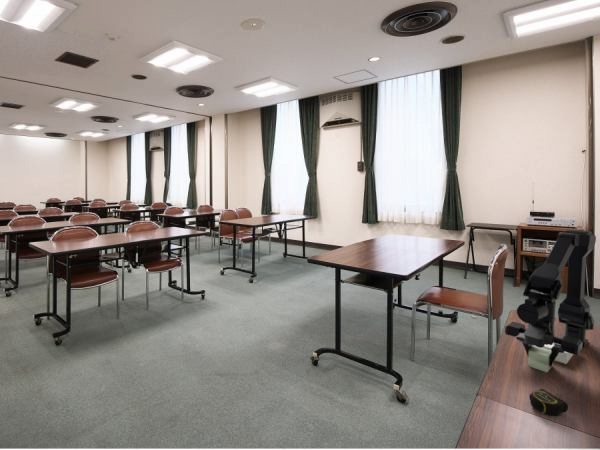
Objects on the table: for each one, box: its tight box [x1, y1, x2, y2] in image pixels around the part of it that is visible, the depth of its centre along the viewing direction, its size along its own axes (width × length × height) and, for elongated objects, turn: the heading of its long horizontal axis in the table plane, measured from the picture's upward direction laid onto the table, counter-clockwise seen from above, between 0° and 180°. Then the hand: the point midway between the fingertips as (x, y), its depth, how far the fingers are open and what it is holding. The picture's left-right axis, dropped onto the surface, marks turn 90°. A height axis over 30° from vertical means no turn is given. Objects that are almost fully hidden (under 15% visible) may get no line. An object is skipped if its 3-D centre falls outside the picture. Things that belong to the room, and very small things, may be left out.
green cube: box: [527, 345, 553, 373], centre depth 106 cm, size 5×5×5 cm
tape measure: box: [529, 388, 569, 417], centre depth 87 cm, size 7×7×4 cm
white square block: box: [532, 343, 574, 365], centre depth 114 cm, size 10×10×4 cm
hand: (540, 362), depth 107 cm, fingers closed on green cube, 5 cm apart
